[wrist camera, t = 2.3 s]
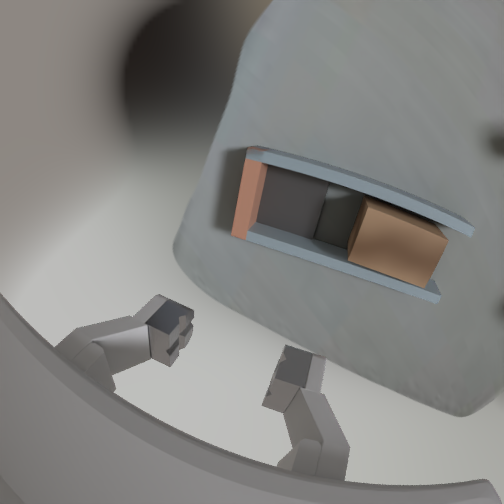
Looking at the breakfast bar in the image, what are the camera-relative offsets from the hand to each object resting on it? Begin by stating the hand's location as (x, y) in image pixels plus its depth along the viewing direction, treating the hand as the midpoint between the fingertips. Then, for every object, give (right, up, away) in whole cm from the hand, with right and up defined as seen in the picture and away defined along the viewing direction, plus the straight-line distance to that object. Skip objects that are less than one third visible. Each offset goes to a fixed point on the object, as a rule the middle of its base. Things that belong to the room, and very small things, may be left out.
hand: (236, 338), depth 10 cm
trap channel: (+11, +6, +15) cm, 20 cm away
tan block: (+14, +5, +15) cm, 21 cm away
